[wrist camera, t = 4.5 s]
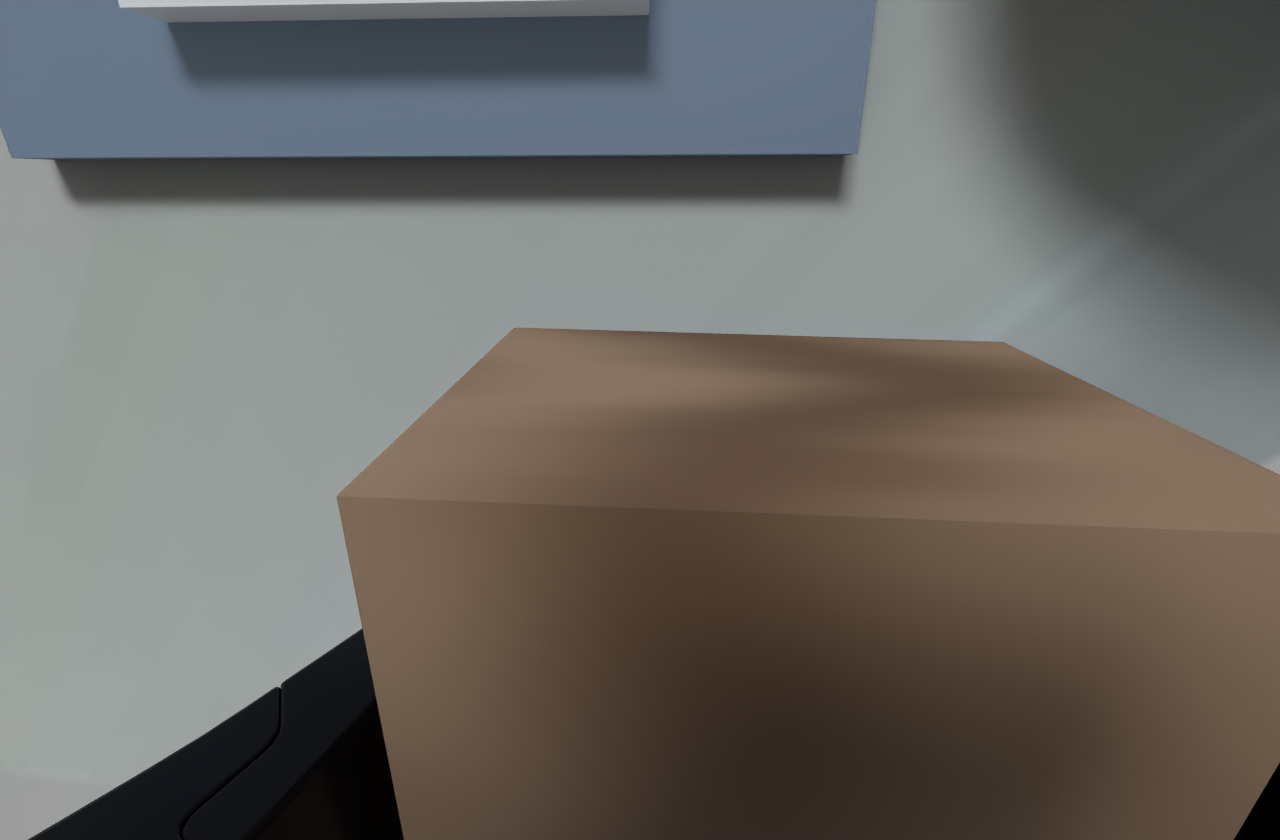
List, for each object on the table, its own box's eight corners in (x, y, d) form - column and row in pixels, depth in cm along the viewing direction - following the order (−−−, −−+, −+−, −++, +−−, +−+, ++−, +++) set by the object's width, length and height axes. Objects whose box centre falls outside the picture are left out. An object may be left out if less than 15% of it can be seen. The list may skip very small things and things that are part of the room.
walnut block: (1002, 342, 8) (1415, 539, 4) (909, 708, 11) (1084, 1091, 6) (514, 327, 9) (336, 496, 4) (536, 689, 11) (444, 1045, 7)
